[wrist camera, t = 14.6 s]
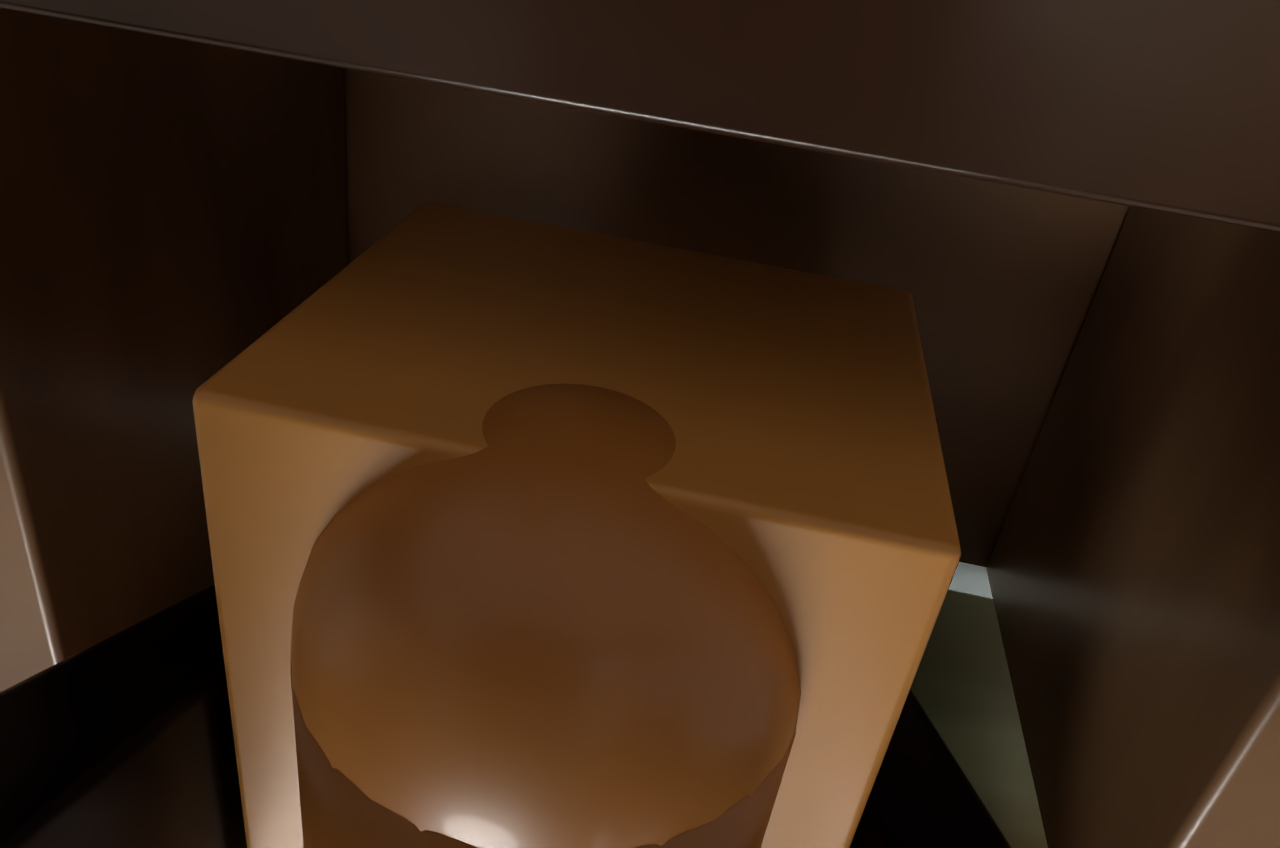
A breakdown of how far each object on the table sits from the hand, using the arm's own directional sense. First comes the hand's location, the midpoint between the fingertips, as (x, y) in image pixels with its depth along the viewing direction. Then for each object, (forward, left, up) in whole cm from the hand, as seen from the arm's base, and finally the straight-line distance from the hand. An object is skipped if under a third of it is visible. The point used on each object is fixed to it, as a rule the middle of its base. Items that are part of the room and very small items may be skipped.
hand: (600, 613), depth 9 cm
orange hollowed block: (0, 0, -1) cm, 1 cm away
